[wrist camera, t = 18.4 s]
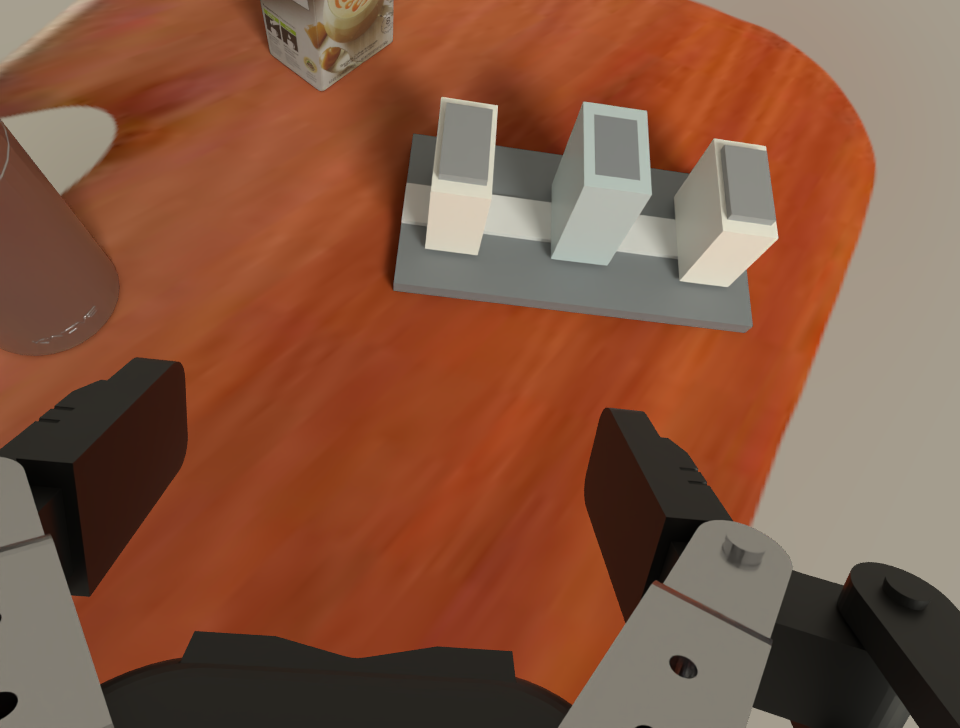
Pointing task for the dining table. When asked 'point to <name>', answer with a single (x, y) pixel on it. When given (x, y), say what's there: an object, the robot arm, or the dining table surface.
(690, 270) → the module
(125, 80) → the dining table surface
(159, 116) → the dining table surface
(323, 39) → the coffee box
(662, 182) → the mounting board
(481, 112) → the module
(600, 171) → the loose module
